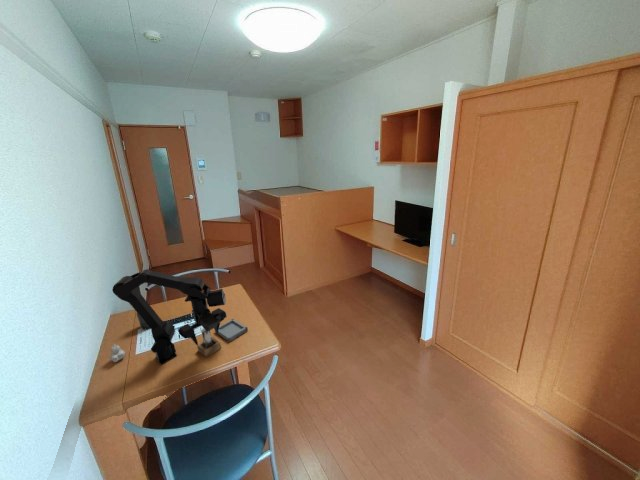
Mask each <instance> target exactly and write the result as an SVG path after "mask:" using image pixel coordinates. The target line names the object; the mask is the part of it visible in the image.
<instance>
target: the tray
mask: <svg viewBox="0 0 640 480" xmlns="http://www.w3.org/2000/svg"><path fill="white" fill-rule="evenodd" d="M246 332H248V327H247V326H246V325H245V324H243V323H241V322H239V321H238V320H236V319H235V318H232V319H230V320H228V321H227V322H225V323H223V324H220V325H219V330H218V334H217V335H219V336H220V337H222V338H223V339H224V340H226V341H227V342H229V343H230V342H232V341H234V340H235V339H237V338H239V337H240V336H242V335H244V334H245V333H246Z"/></svg>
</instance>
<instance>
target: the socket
mask: <svg viewBox="0 0 640 480" xmlns="http://www.w3.org/2000/svg"><path fill="white" fill-rule="evenodd" d="M211 339H212V343H213V345H212V346H211V347H209V348H207V349H205V344H204V340H203V341H201V342H200V343H198V345H196V346H197V351H198V352H199V353H201V355H203V356H204V358H208V357H209V356H211V355H212V354H214V353H216V352H218V351H219V350H221V349H222V346H221V342H220V341H219V340H217V339H216V338H215V337H213V336H211Z"/></svg>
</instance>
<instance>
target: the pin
mask: <svg viewBox="0 0 640 480" xmlns="http://www.w3.org/2000/svg"><path fill="white" fill-rule="evenodd" d="M201 335H202V340H203V341H204V344H205V349H207V348H209V347H211V346H212V345H213V343H212V339H211V337H212V336H211V330H210V331H206V330H205V329H204V328H203V329H202V330H201Z"/></svg>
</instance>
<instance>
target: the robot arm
mask: <svg viewBox="0 0 640 480" xmlns="http://www.w3.org/2000/svg"><path fill="white" fill-rule="evenodd" d="M143 284H150V285H155V286H159V287H165V288H170V289H175V290H177V291H179V292H181V293H182V294H184V295H186V297H185V299H184V302H185V303H187V302H190V304H191V308H192V309H191V313H192V314H193V317H194V318H193V320H194V322H195V323H194V324H192V325H190V324H189V323H185V325H182V326H180V327H179V328H178V330H177V331H178V334H179V335H180V336H181V337H182V338H183V339H191V341H192V342H193V343H194V344H195V346H197V345H198V344H199V343H198V340H197V337H196V335H197V334H196V333H195V330H197V329H199V328H201V327H203V329H205V330H206V331H210V332H211V330H213V329H214V332H215V334H216V335H219V334H218V330H219V326H221V322H223V321H224V320H225V319H226V318H227V313H226V311H225V310H224V309H222V308H220V307H219V306H225V305H226V301H227V300H226V293H225V291H224V289H223V288H219V289H214V290H211V287H209V285H208V284H206V283H205V282H204V281H203V279H202V278H201V277H193V276H189V277H188V276H187V277H180V276H177V275H176V276H175V275H171V274H166V273H162V272H157V271H153V270H151V269H148V268H147V269H143V270H142V271H139V272H135V273H134V274H131V275H125V276H122V277H121V278H120V279H119V280H118V281H117V282H116V283H114V285H113V286H112V293H113V294H114V296H116V297H117V298H119V300H121V301H124V302H127V303H128V304H129V305H130V306H131V307H132V308H133V309H134V311H135V312H136V314H137V313H138V314H139V315H140V317H141V318H142V319H143V320H144V321H145V323H146V324H147V325H148V326H149V327H150V328H149V329H150V330H151V334H152V338H153V340H154V343H153V345H152V346H151V348H150V351H151V352H152V353H153V354H155V359H156V361H157V362H158V363H159V364H160V365H163V364H165V363H166V362H169V361H170V360H172V359H174V358H176V357H177V356H178V354H177V352H176V351H177V350H176V347H175V344H174V343H173V342H172V340H173V338H174V335H175V333H176V329H175V328H176V326H175V325H173V324H172V321H170V320H168V321H163V320H162V318H161V317H160V316H159V314H158V313H156V311H155V310H154V309H153V307H152V306H151V305H150V304H149V302H148V301H147V300H146V298H145V297H144V296H143V295H142V293H141V288H140V286H142V285H143ZM208 307H211V308H212V307H218V308H216V309H213V310H212V311H211V310H210V309H209V308H208Z"/></svg>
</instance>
